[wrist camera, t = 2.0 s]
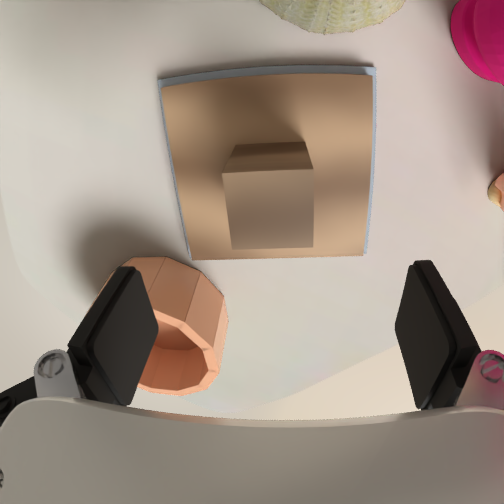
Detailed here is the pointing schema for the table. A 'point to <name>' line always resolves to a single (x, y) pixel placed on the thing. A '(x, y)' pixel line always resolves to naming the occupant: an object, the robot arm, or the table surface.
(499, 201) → the grandmother figurine
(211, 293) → the bowl
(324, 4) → the sea urchin shell
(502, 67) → the pepper mill
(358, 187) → the lid
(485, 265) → the table surface
